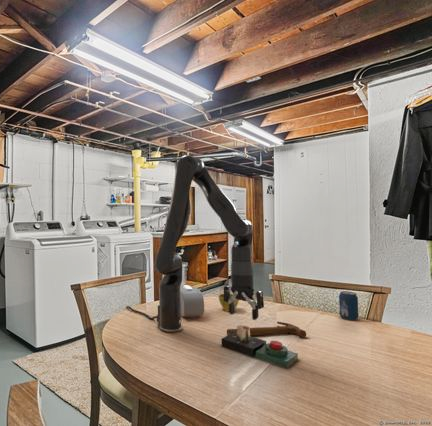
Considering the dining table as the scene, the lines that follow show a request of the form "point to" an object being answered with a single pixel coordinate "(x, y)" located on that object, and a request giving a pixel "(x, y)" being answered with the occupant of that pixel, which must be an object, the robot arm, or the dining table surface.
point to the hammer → (273, 330)
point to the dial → (243, 333)
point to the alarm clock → (191, 301)
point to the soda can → (348, 305)
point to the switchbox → (277, 355)
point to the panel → (243, 344)
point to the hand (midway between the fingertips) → (243, 316)
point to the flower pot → (225, 304)
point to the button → (276, 345)
